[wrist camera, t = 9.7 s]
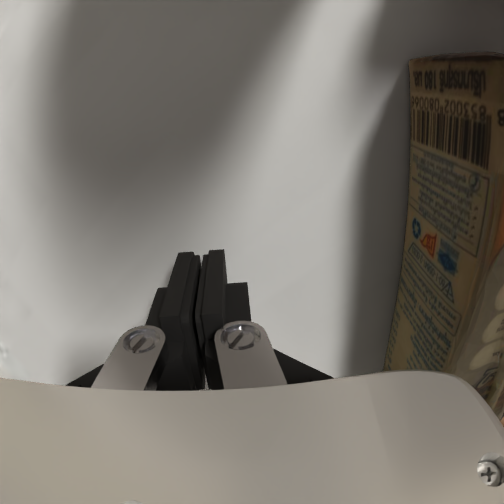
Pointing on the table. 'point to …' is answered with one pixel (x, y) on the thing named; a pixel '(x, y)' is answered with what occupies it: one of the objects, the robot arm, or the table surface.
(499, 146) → the beverage carton
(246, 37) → the table surface
